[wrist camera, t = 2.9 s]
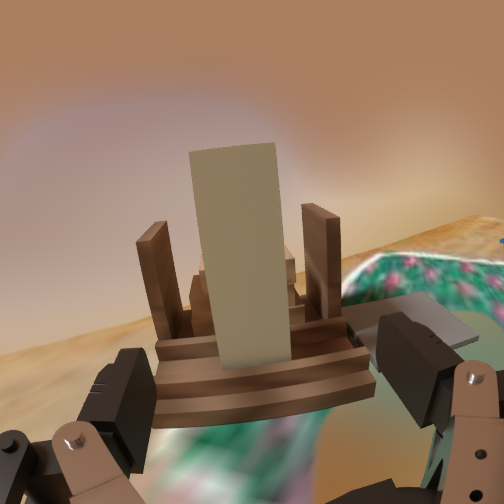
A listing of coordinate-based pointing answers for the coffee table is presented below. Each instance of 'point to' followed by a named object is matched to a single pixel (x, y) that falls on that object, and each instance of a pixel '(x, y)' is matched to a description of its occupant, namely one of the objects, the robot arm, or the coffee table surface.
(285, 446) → the coffee table surface
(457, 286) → the coffee table surface
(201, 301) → the oak offcut stack
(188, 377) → the walnut rack
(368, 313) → the grey mat
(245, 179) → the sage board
